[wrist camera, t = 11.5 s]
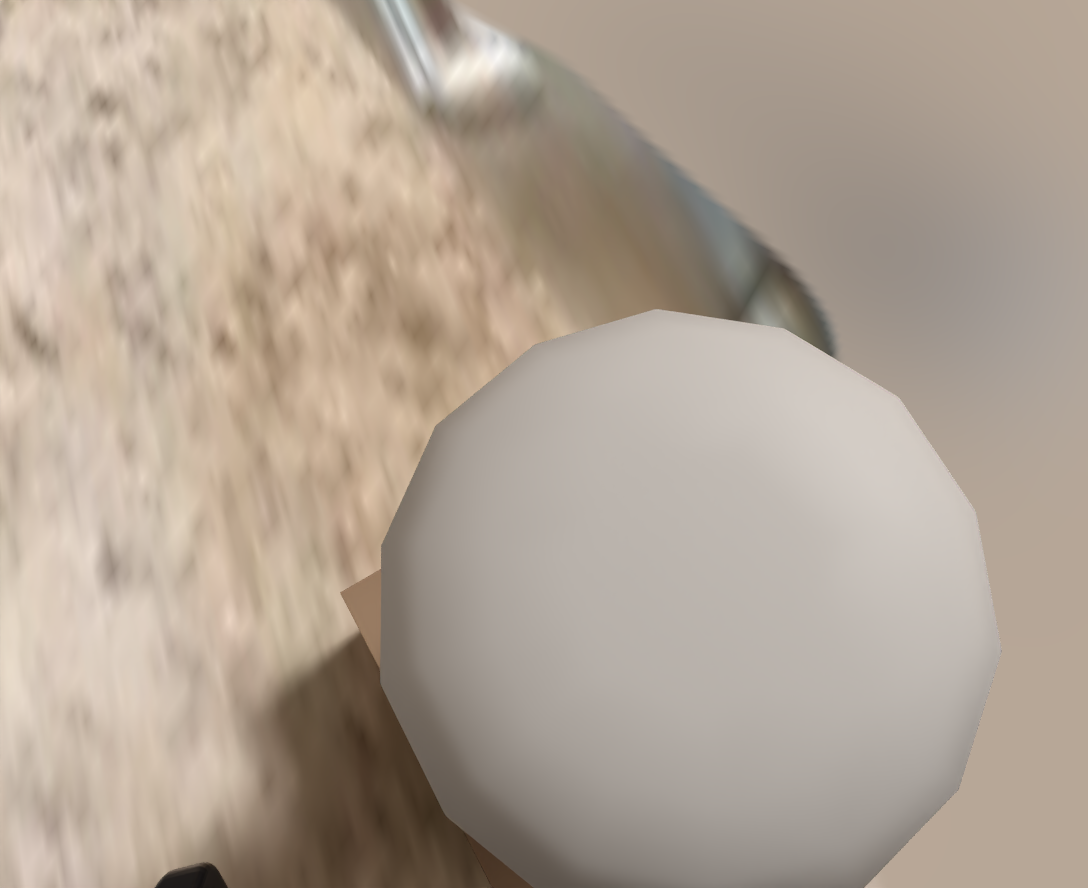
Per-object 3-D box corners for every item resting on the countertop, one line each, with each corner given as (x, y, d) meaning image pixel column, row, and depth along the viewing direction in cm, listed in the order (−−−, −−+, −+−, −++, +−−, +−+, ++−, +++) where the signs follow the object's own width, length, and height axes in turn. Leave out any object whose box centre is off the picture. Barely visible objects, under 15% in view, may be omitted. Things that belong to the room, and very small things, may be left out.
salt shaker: (612, 913, 17) (655, 1417, 5) (410, 665, 19) (35, 559, 6) (844, 689, 18) (1395, 623, 6) (634, 467, 20) (705, 20, 7)
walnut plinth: (864, 743, 22) (922, 748, 18) (553, 938, 21) (544, 988, 17) (671, 445, 24) (686, 393, 20) (382, 613, 23) (339, 592, 19)
